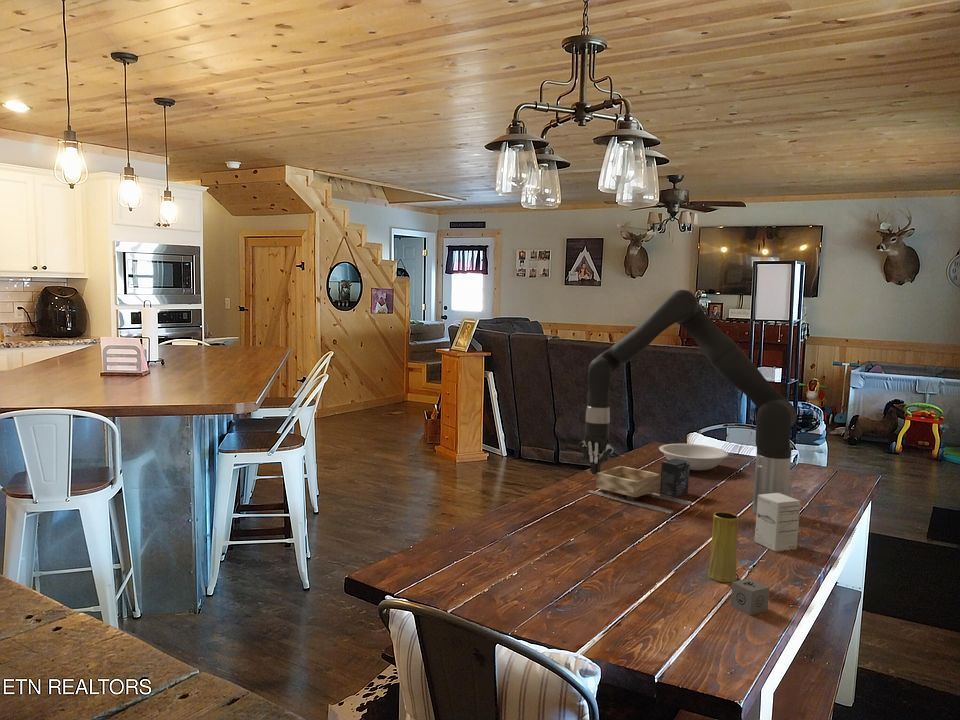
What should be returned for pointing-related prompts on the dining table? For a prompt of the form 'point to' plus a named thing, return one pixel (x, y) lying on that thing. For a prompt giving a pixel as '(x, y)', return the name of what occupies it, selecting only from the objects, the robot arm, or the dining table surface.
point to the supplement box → (777, 521)
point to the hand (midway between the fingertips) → (595, 473)
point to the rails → (644, 503)
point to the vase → (724, 547)
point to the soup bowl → (695, 455)
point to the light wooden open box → (627, 481)
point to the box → (674, 477)
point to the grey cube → (749, 596)
